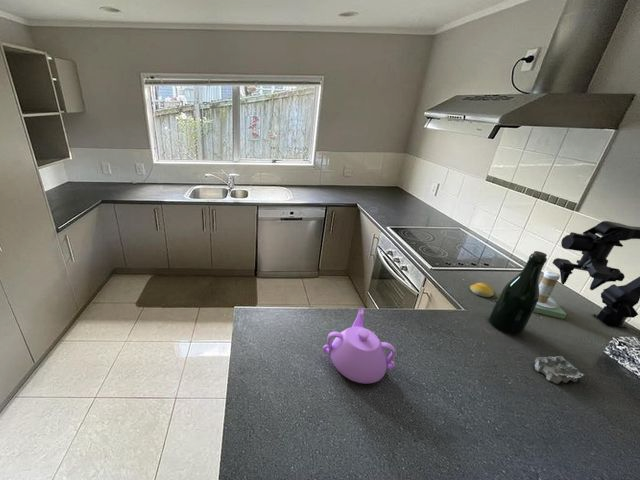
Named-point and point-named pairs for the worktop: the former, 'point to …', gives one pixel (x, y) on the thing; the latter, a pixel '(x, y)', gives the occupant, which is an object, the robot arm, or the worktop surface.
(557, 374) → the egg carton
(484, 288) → the bread roll
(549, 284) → the sprinkles bottle
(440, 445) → the worktop surface
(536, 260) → the beer bottle
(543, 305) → the scale
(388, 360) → the teapot
